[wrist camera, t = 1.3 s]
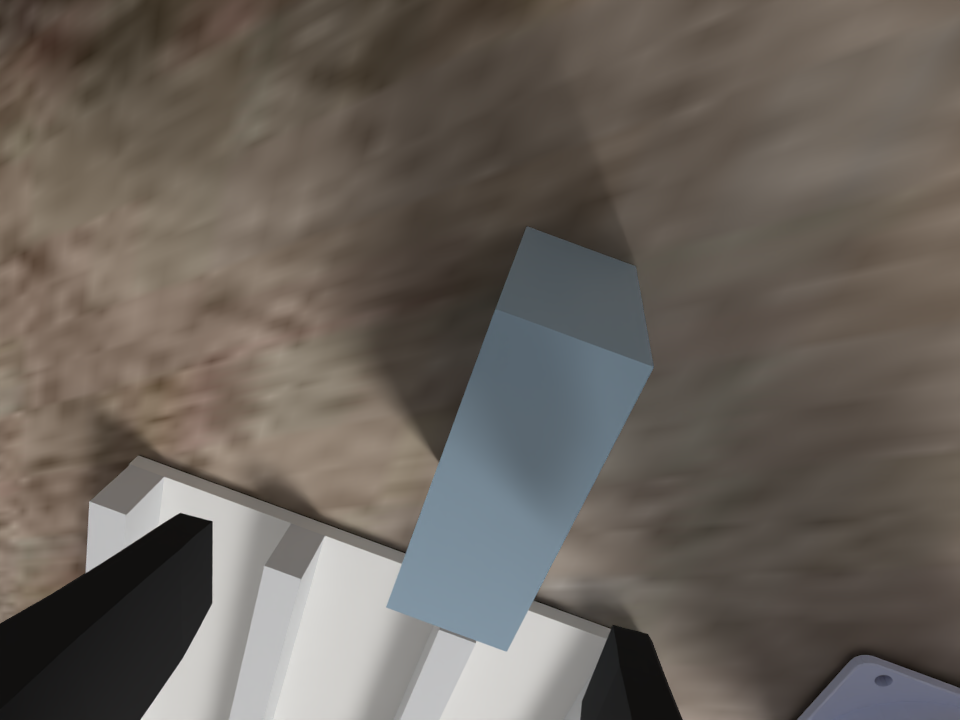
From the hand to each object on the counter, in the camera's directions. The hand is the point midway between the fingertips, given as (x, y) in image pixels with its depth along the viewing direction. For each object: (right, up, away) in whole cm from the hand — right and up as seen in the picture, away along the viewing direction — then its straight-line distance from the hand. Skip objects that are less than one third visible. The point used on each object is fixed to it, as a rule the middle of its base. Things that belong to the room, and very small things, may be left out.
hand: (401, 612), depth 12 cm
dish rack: (-4, -9, +15) cm, 18 cm away
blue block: (+3, +4, +7) cm, 9 cm away
